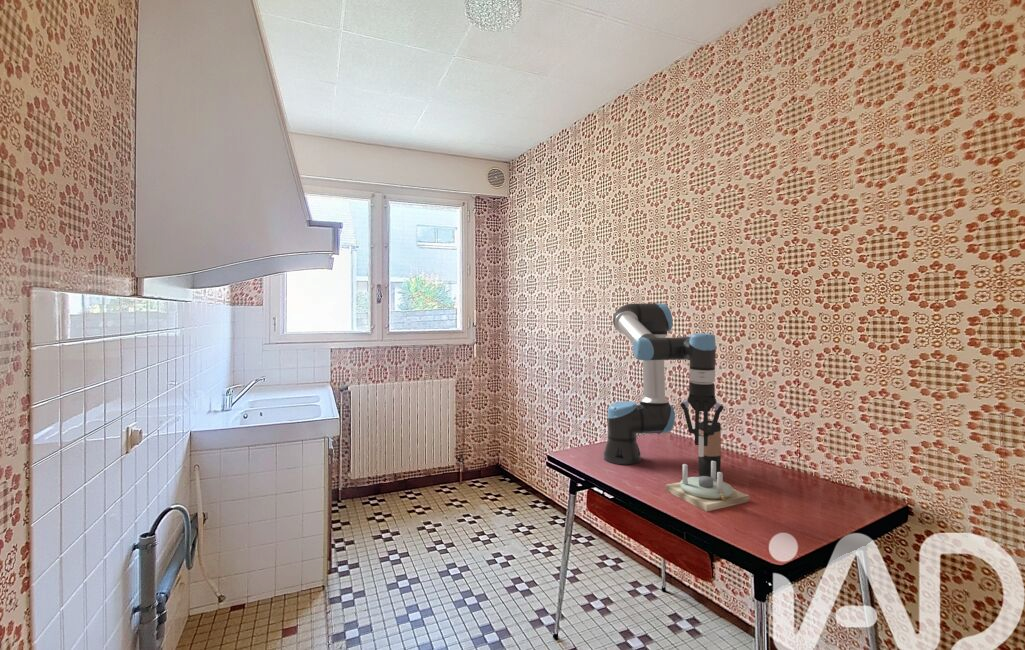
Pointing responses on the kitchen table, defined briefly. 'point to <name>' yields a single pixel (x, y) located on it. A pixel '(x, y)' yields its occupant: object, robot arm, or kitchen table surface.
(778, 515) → the kitchen table surface
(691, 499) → the stand base
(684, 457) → the kitchen table surface
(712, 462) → the green peg holder
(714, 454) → the travel mug
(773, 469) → the kitchen table surface
